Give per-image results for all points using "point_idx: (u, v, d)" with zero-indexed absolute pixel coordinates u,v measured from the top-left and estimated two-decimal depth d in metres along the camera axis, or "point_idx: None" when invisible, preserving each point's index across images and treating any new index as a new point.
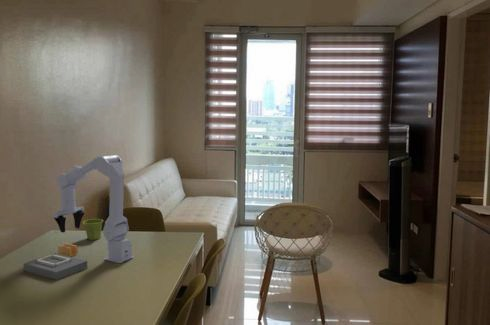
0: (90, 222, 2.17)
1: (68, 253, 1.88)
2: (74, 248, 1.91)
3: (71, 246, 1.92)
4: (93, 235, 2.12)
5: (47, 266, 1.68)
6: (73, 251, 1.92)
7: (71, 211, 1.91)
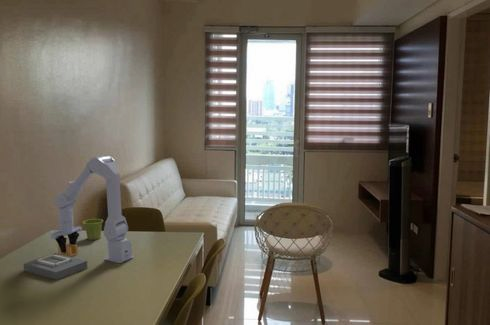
0: (90, 222, 2.17)
1: (68, 253, 1.88)
2: (74, 248, 1.91)
3: (71, 246, 1.92)
4: (93, 235, 2.12)
5: (47, 266, 1.68)
6: (73, 251, 1.92)
7: (69, 232, 1.88)
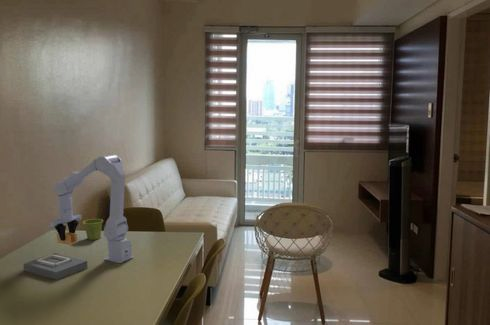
0: (90, 222, 2.17)
1: (67, 241, 1.88)
2: (73, 236, 1.90)
3: (70, 234, 1.91)
4: (93, 235, 2.12)
5: (47, 266, 1.68)
6: (72, 239, 1.91)
7: (68, 220, 1.88)
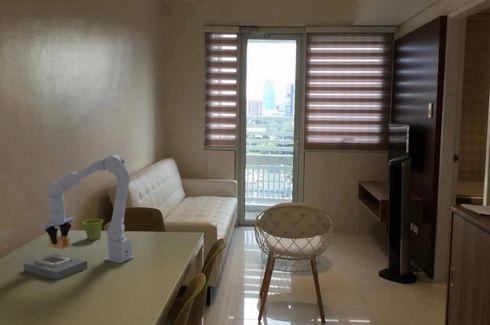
0: (90, 222, 2.17)
1: (59, 245, 1.77)
2: (65, 240, 1.80)
3: (62, 238, 1.81)
4: (93, 235, 2.12)
5: (47, 266, 1.68)
6: (64, 243, 1.80)
7: (60, 222, 1.77)
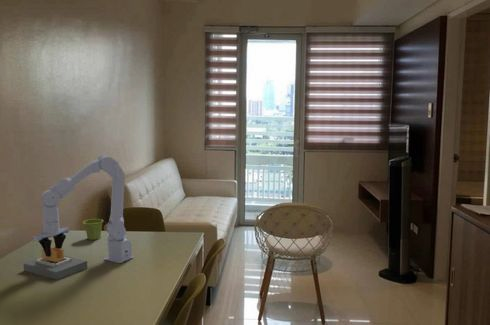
0: (90, 222, 2.17)
1: (53, 257, 1.70)
2: (60, 252, 1.72)
3: (56, 249, 1.73)
4: (93, 235, 2.12)
5: (47, 266, 1.68)
6: (58, 255, 1.73)
7: (54, 234, 1.69)
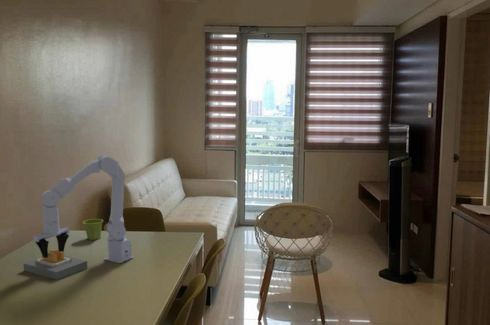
0: (90, 222, 2.17)
1: (53, 260, 1.70)
2: (60, 255, 1.72)
3: (57, 252, 1.73)
4: (93, 235, 2.12)
5: (47, 266, 1.68)
6: (59, 258, 1.73)
7: (54, 234, 1.70)
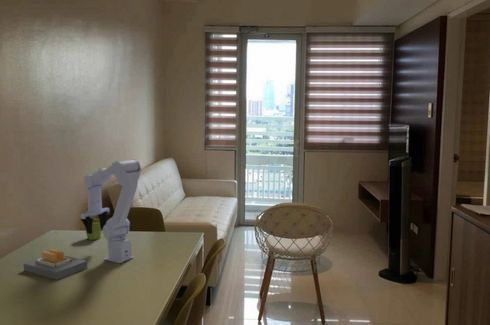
0: None
1: (53, 260, 1.70)
2: (60, 255, 1.72)
3: (57, 252, 1.73)
4: (93, 235, 2.12)
5: (47, 266, 1.68)
6: (59, 258, 1.73)
7: (98, 212, 1.90)
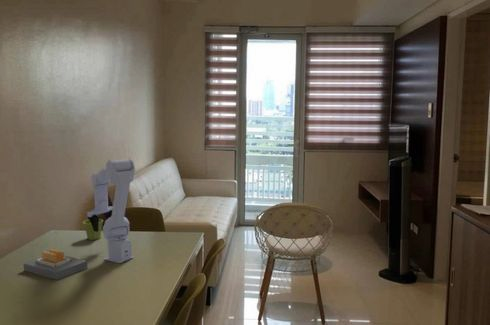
0: (90, 222, 2.17)
1: (53, 260, 1.70)
2: (60, 255, 1.72)
3: (57, 252, 1.73)
4: (93, 235, 2.12)
5: (47, 266, 1.68)
6: (59, 258, 1.73)
7: (104, 210, 1.93)
